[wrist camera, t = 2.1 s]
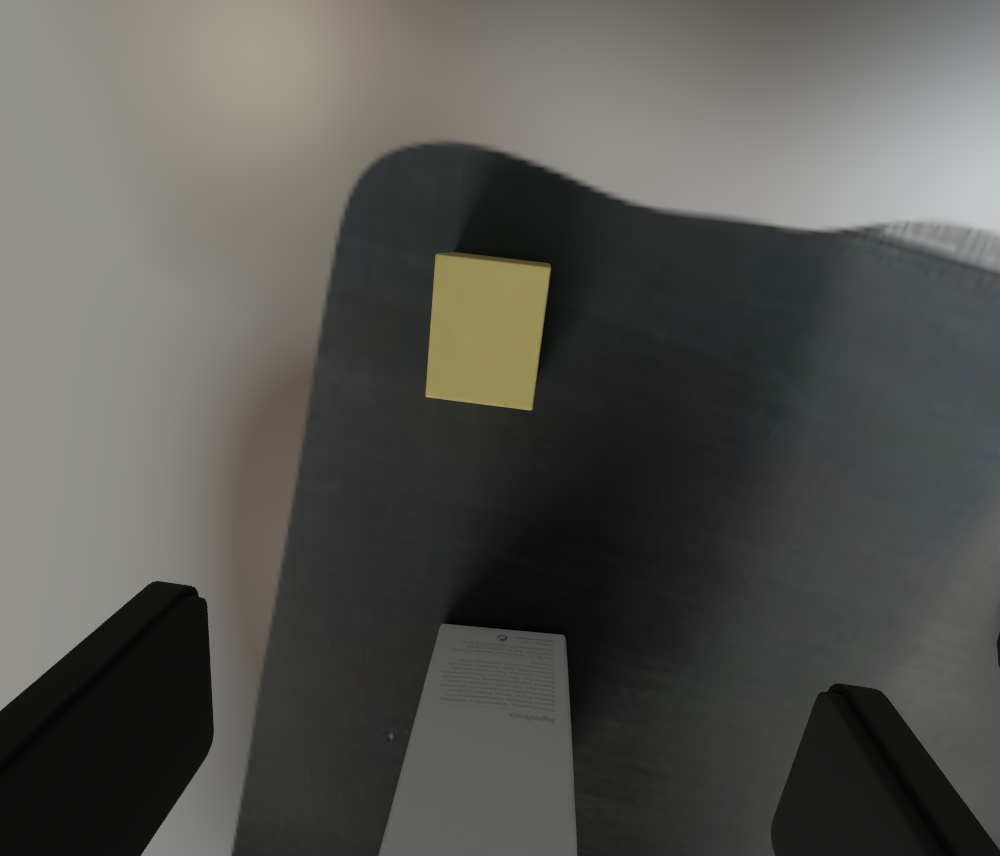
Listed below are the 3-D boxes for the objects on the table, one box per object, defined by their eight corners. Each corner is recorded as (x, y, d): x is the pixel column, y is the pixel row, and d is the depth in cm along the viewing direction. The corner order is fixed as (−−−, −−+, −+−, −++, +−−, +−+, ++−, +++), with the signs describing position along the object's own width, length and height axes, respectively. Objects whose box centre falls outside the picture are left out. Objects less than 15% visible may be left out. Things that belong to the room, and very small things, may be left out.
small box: (440, 618, 25) (371, 861, 15) (568, 631, 25) (582, 887, 15) (435, 759, 28) (373, 1047, 18) (552, 772, 28) (554, 1074, 18)
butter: (534, 385, 22) (532, 410, 19) (443, 374, 22) (425, 397, 19) (550, 263, 21) (551, 266, 17) (453, 252, 21) (435, 253, 17)
